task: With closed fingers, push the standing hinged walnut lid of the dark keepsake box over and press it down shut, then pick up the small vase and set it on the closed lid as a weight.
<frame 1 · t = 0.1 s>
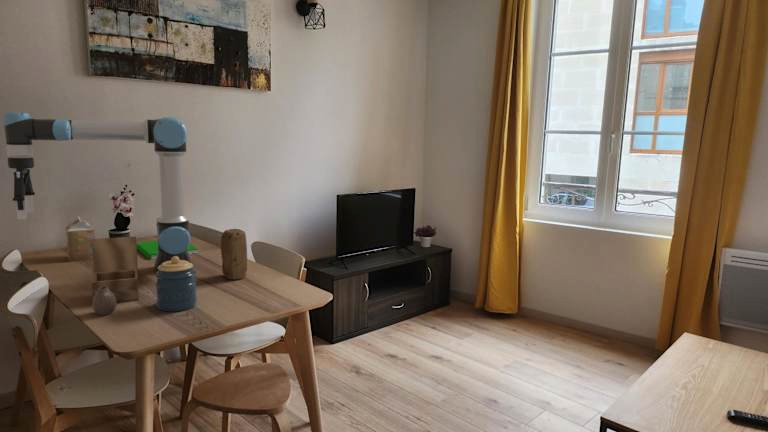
hand: (26, 216, 182), 28 cm above the table, fingers open, 13 cm apart
lid: (115, 254, 186), point 14 cm above the table, hinge at 105.0°
tan lidded jar: (82, 258, 233), on the table
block: (234, 277, 210), on the table
keepsake box: (116, 297, 181), on the table
canister: (177, 306, 175), on the table
vase: (105, 313, 166), on the table
book: (166, 252, 251), on the table
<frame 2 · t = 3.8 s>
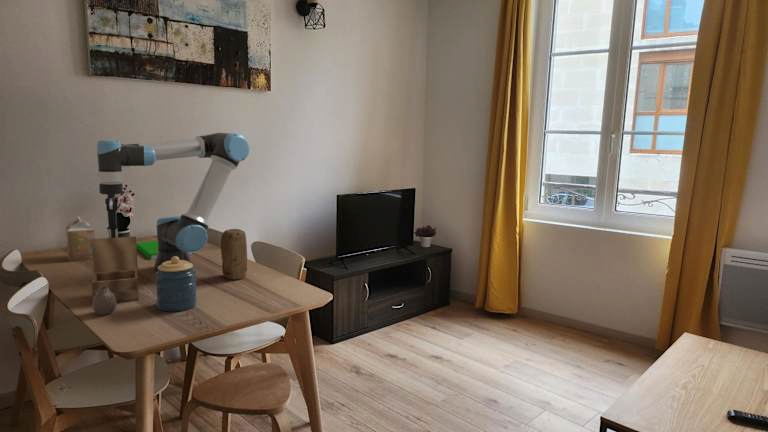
hand: (114, 245, 188), 17 cm above the table, fingers closed
lid: (115, 254, 186), point 14 cm above the table, hinge at 102.4°, touching gripper
everything else where it was.
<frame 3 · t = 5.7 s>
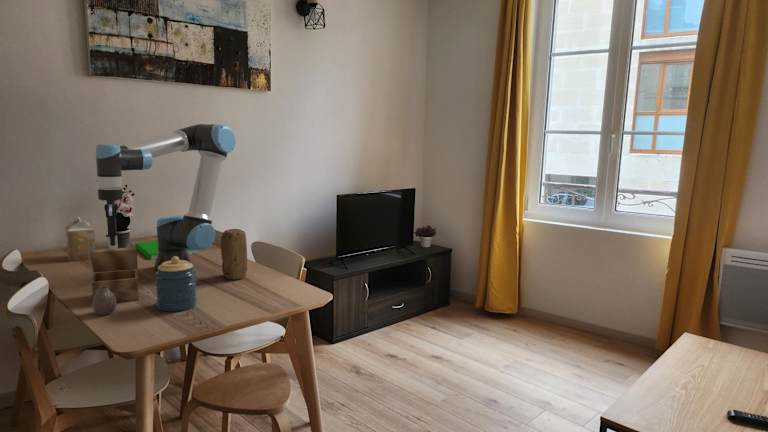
hand: (113, 253, 180), 16 cm above the table, fingers closed
lid: (114, 259, 181), point 13 cm above the table, hinge at 49.8°, touching gripper
everything else where it was.
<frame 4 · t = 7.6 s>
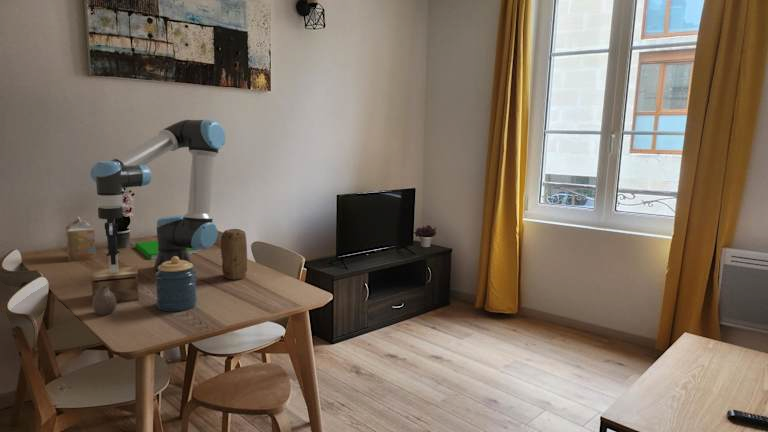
hand: (114, 272, 177), 10 cm above the table, fingers closed
lid: (115, 272, 180), point 9 cm above the table, hinge at 1.9°, touching gripper
everything else where it was.
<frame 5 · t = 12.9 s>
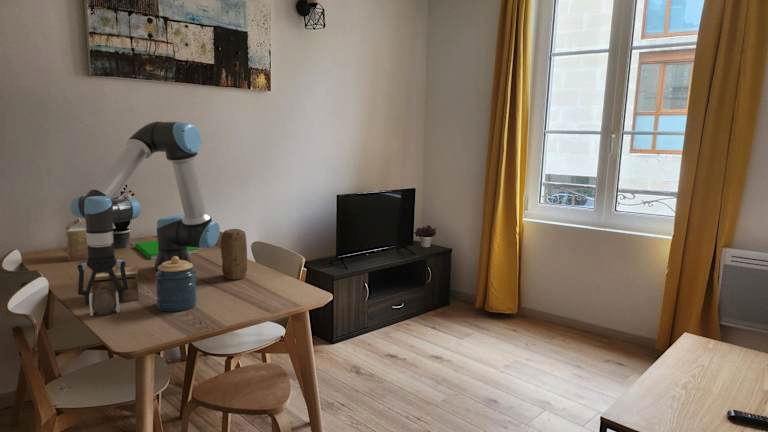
hand: (105, 312, 166), 0 cm above the table, fingers closed on vase, 7 cm apart
lid: (115, 272, 180), point 9 cm above the table, hinge at 2.0°
vase: (105, 313, 166), on the table, touching gripper
everything else where it was.
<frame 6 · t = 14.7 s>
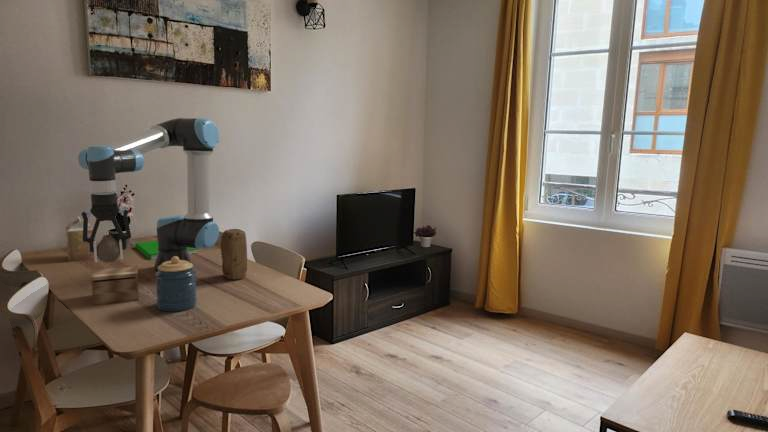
hand: (109, 259, 171), 16 cm above the table, fingers closed on vase, 7 cm apart
vase: (109, 261, 171), point 16 cm above the table, touching gripper
everything else where it was.
when the fingers open (11 cm above the table, at t = 16.8 s): vase drops 1 cm, resting on lid.
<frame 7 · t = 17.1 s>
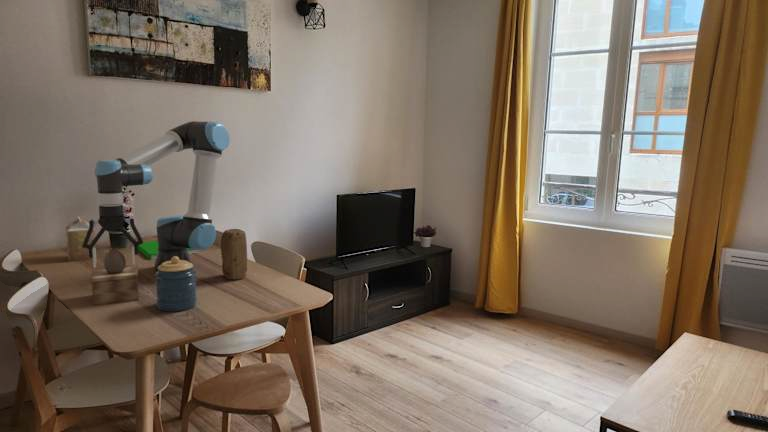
hand: (114, 265, 179), 12 cm above the table, fingers open, 11 cm apart
lid: (115, 273, 180), point 9 cm above the table, hinge at -0.2°, touching vase
vase: (115, 272, 180), point 9 cm above the table, touching lid
everything else where it was.
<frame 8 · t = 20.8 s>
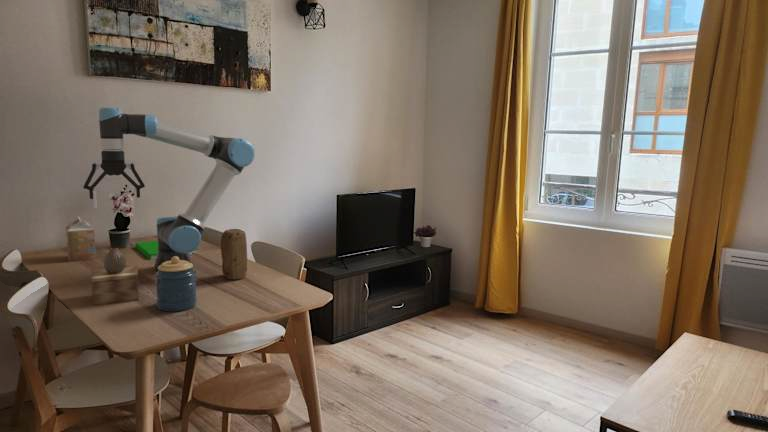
hand: (116, 207, 190), 31 cm above the table, fingers open, 13 cm apart
nothing on the table moved.
at the end: lid at +0° (first picture: +105°); vase inside the target area on the keepsake box (0.1 cm from its centre), point 9.1 cm above the keepsake box's base; vase tilted 0° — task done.
